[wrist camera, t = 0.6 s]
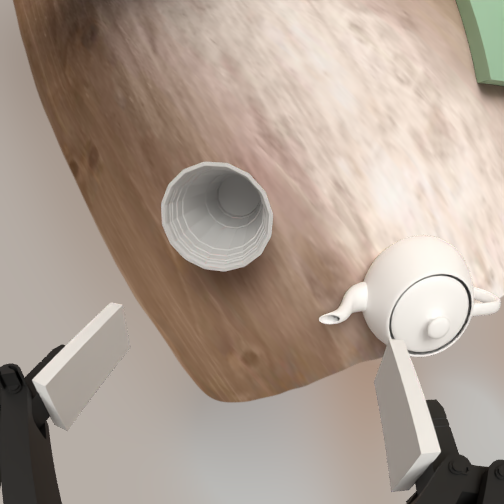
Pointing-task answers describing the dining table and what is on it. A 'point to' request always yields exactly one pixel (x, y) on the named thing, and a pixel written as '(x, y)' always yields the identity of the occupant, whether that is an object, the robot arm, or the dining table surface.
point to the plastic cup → (217, 216)
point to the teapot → (417, 296)
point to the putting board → (485, 37)
